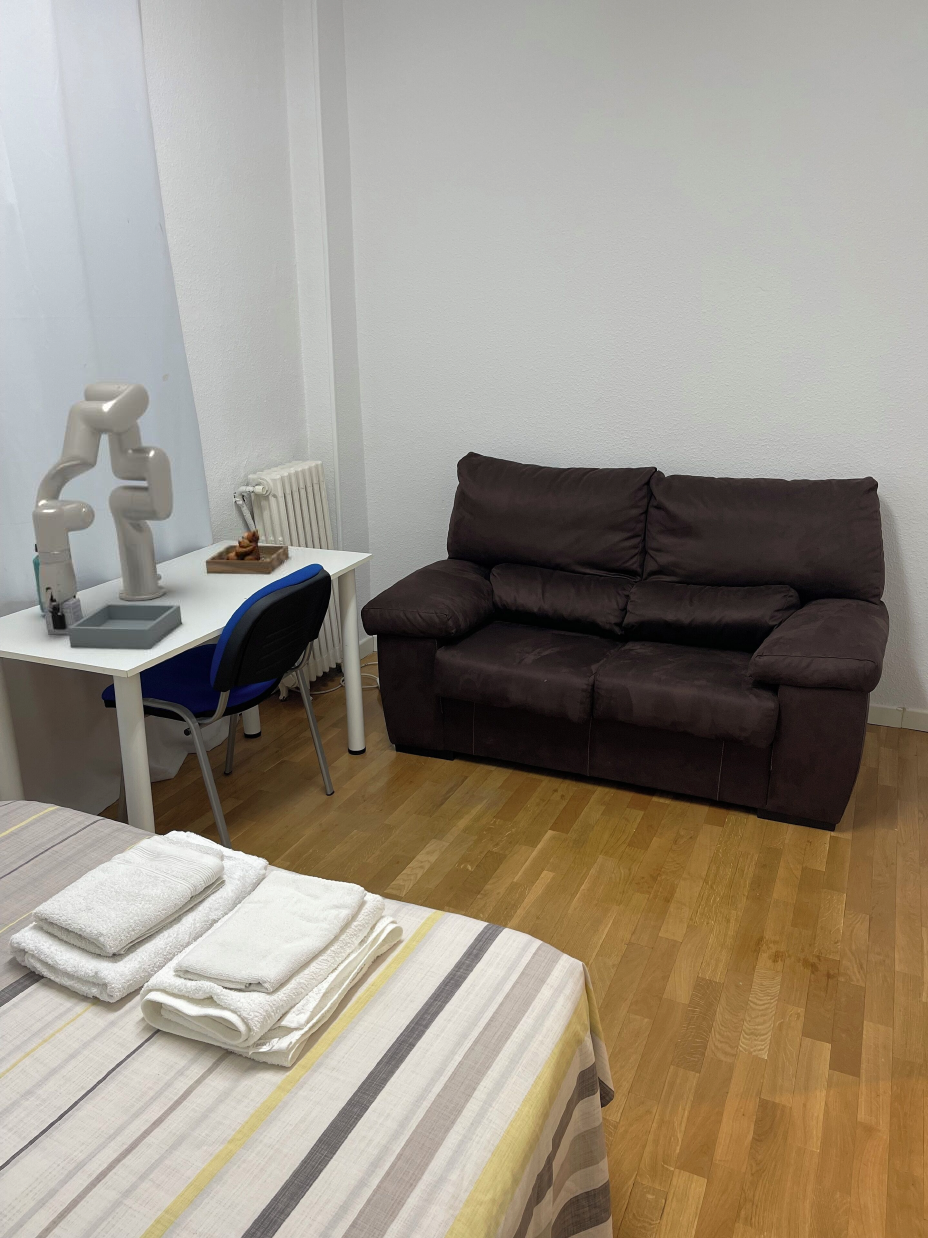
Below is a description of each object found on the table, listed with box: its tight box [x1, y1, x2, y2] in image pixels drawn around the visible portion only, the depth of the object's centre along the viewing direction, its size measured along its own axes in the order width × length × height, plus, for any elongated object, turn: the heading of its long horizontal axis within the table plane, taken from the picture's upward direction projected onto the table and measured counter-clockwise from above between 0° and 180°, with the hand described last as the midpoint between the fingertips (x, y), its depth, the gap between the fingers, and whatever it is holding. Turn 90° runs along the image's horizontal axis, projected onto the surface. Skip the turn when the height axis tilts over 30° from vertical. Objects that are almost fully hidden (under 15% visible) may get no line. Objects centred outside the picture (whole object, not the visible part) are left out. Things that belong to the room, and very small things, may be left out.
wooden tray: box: [205, 544, 290, 575], centre depth 308 cm, size 21×20×4 cm
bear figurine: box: [225, 529, 269, 561], centre depth 304 cm, size 14×15×12 cm
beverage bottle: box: [32, 543, 45, 614], centre depth 257 cm, size 6×7×20 cm
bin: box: [68, 603, 183, 650], centre depth 242 cm, size 20×20×5 cm
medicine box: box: [43, 597, 84, 636], centre depth 244 cm, size 8×4×9 cm, turn 80°
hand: (65, 625), depth 245 cm, fingers closed on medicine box, 4 cm apart
